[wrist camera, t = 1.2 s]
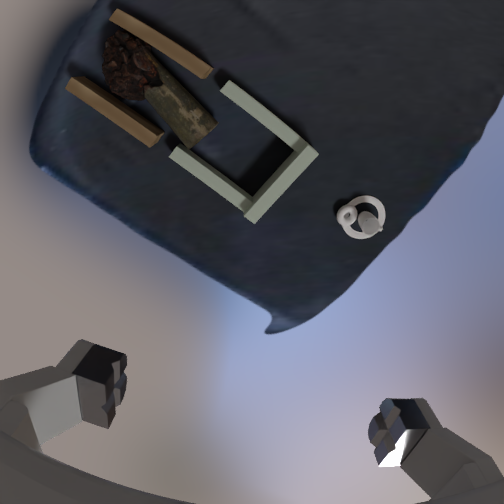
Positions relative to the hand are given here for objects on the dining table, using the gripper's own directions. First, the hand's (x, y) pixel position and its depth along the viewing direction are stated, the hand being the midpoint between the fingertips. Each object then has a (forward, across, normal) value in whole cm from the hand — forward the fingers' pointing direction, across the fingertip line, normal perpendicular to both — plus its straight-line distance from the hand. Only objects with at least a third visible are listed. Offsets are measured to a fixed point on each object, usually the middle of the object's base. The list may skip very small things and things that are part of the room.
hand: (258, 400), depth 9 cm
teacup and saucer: (+44, -17, -5) cm, 47 cm away
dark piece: (+39, +18, -15) cm, 46 cm away
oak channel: (+38, +21, -16) cm, 47 cm away
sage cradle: (+41, +4, -8) cm, 42 cm away
